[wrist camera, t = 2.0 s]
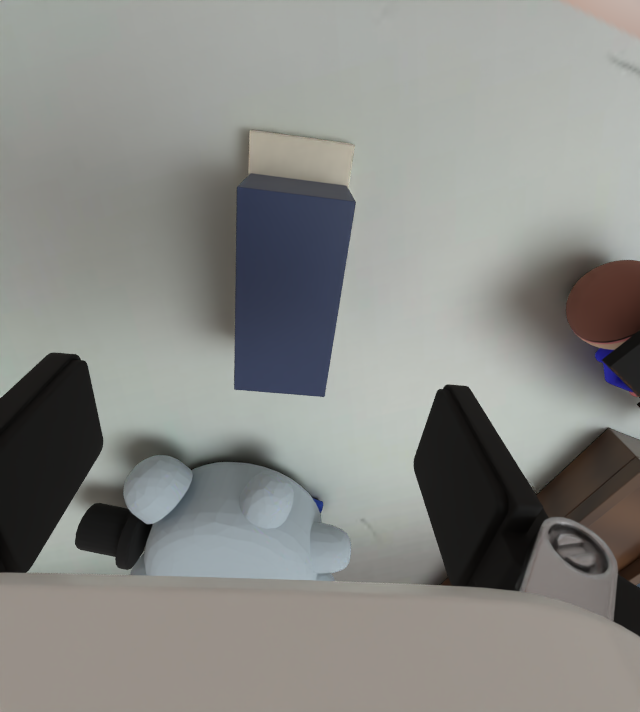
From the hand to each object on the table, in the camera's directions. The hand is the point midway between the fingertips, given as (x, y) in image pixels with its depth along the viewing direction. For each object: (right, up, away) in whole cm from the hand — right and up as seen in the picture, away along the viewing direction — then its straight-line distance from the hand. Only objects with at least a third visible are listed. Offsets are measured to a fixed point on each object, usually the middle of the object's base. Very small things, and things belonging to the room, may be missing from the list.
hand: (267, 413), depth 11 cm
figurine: (-7, -11, +23) cm, 27 cm away
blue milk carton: (0, +7, +12) cm, 14 cm away
